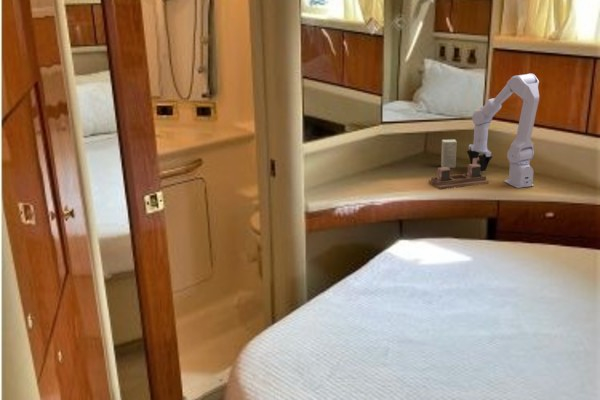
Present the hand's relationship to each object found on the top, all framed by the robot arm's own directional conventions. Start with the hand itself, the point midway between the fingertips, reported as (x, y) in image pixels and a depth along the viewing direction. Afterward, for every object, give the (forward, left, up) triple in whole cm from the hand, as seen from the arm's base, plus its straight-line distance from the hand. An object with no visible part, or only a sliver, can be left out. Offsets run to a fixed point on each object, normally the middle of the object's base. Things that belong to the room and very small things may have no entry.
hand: (478, 168), depth 257 cm
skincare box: (+12, +8, -2) cm, 15 cm away
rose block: (0, 0, -2) cm, 2 cm away
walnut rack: (-11, +16, -2) cm, 19 cm away
